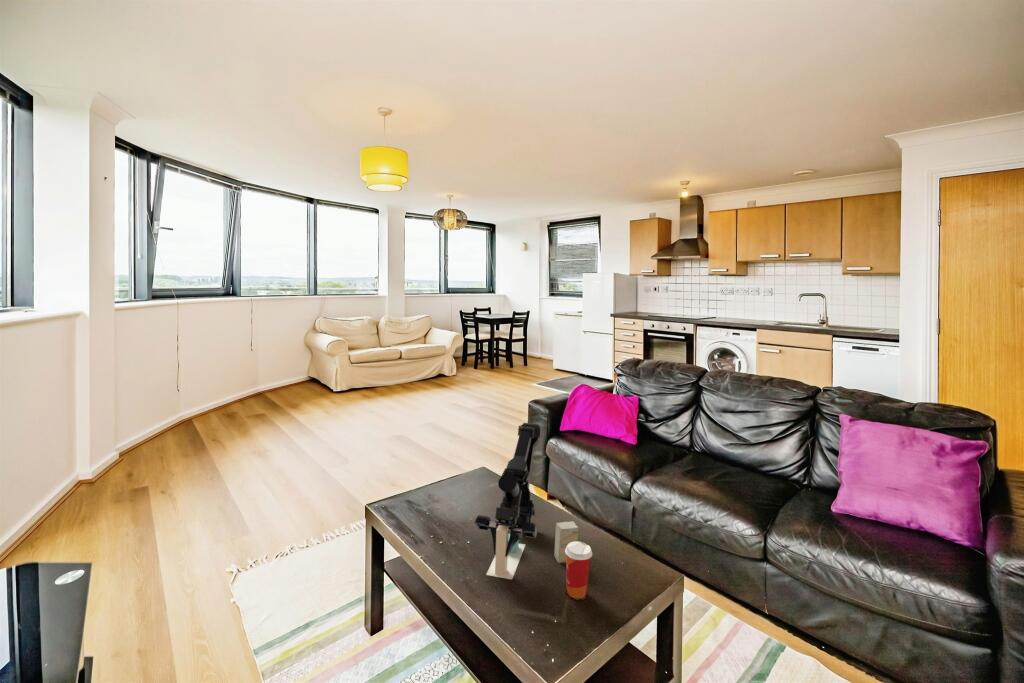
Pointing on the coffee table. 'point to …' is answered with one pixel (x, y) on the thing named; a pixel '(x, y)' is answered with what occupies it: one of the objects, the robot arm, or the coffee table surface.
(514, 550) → the teal block
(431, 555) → the coffee table surface
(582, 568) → the paper cup
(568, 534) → the skincare box
